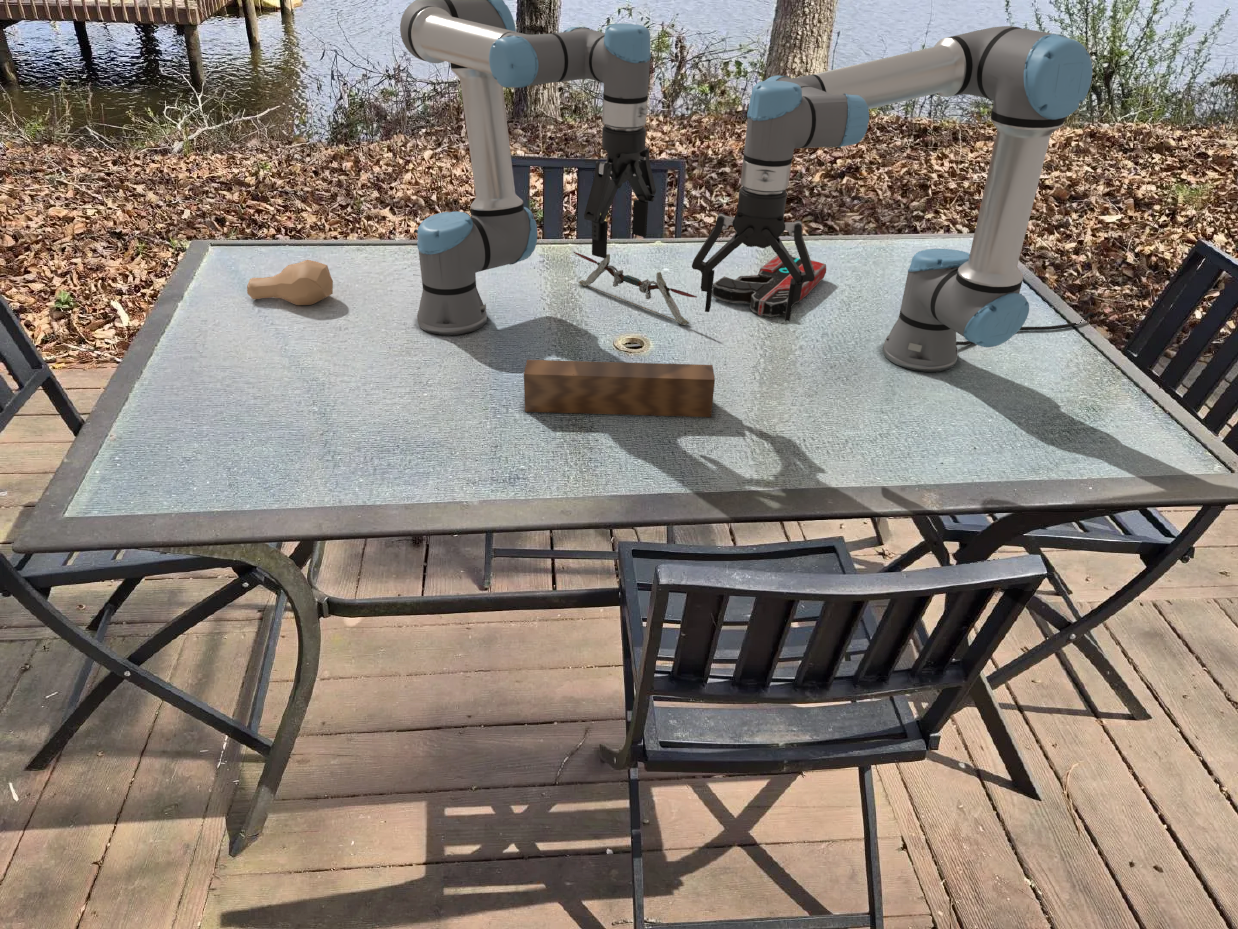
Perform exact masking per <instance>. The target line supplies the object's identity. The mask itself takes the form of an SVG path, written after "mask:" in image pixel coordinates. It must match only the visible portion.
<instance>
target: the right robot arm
mask: <svg viewBox="0 0 1238 929" xmlns="http://www.w3.org/2000/svg"><path fill="white" fill-rule="evenodd" d="M1092 79H1093V62H1092V58H1091V56H1090V53H1089V52H1088V51H1087V49H1086V46H1084V45H1083V43H1081V42H1079V41H1077V40H1076V39H1073V38H1069V37H1067V36H1065V35H1063V34H1061V33H1060V34H1059V33H1052V32H1046V31H1041V30H1040V31H1039V30H1034V29H1030V28H1029V29H1028V28H1022V27H1019V26H1013V25H1002V26H992V27H988V28H982V29H978V30H973V31H969V32H965V33H960V34H956V35H952V36H947V37H943V38H941V39H939V40H938V41H937V42H936V43H935V45H934V46H932V47H928V48H923V49H919V50H914V51H909V52H905V53H901V54H897V55H892V56H888V57H884V58H879V59H874V60H870V61H866V62H865V61H864V62H861V63H857V64H852V65H849V66H843V67H839V68H835V69H830V70H826V71H822V72H818V73H813V74H812V73H811V74H807V75H802V76H798V77H793V78H792V77H789V76H788V75H777V74H776V75H772V76H770V77H768V78H767V79H765V80H762V81H759V82H756V84H754V85H753V87H752V90H751V94H750V98H749V104H748V110H747V113H746V117H747V122H746V131H745V141H744V149H743V157H742V164H741V165H742V166H741V174H740V185H741V187H740V188H739V190H738V197H737V209H736V214H735V216H728V215H726V214H725V213H724V212H719V213H718V214H717V217H716V220H715V225H714V227H713V228H712V230H711V232H710V233H709V235H708V236H707V238H706V240H705V241H704V242H703V245H702V246H701V247H700V249H699V251H698V252H697V254H696V255H695V257H694V258H693V260H692V264H691V269H693V270H697V271H699V272H700V273H701V281H700V290H701V292H706V297H705V307H704V312H705V313H710V311H711V306H712V298H713V297H712V290H713V283H714V278H715V268H716V267H717V266H718V265H719V264H720V263H721V262H723V260H725V259H726V258H727V257H728V256H730V254H731V253H733V251H734V250H736V249H738V248H739V246H741V245H742V244H743V245H745V246H746V247H747V248H754V247H757V248H759V249H767V248H768V247H771V249H772V251H773V252H774V253H775V254H776V256H777V255H778V257H779V258H780V260H781V261H782V262H783V264H784V265H785V267H786V268H787V270H788V271H789V273H790V274H791V276H792V277H793V278H791V282H790V288H789V294H788V301H787V307H786V314H785V317H784V321H786V322H790V320H791V313H792V310H793V309H792V308H793V306H792V302H793V301H799V300H800V296H801V290H802V285H803V283H804V282H807V281H810V282H811V281H814V279H815V272H814V269H813V266H812V263H811V260H812V259H811V257H810V255H809V251H808V248H807V246H806V242H805V240H804V237H803V222H802V220H801V219H797V220H795V221H788V222H787V221H785V211H786V204H787V198H788V193H787V191H786V190H787V189H788V188H789V184H790V178H791V172H792V163H793V157H794V153H795V152H794V151H795V149H814V148H815V149H816V148H838V149H839V148H842V147H847V146H854V145H857V144H859V143H860V142H861V141H862V140H863V138H864V137H865V135H866V133H867V131H868V128H869V122H870V111H869V110H871V109H872V110H873V109H876V108H881V107H884V106H888V105H893V104H898V103H903V102H906V101H907V102H908V101H911V100H914V99H918V98H923V97H927V96H932V95H936V94H937V95H939V96H941V97H943V98H949V97H954V96H958V95H959V96H961V95H966V96H973V97H974V96H975V97H979V98H983V99H987V100H990V101H993V105H992V109H991V114H990V118H989V119H990V122H991V123H992V124H993V126H994V127H995V129H996V135H995V139H994V143H993V147H992V152H991V156H990V161H989V164H988V165H989V166H988V170H987V175H986V179H985V184H984V189H983V193H982V198H981V202H980V207H979V211H978V216H977V220H976V225H975V228H974V234H973V239H972V242H971V247H970V252H967V251H963V250H959V249H952V248H927V249H921V250H919V251H918V252H916V253H915V254H914V255H913V256H912V258H911V260H910V265H909V268H908V269H907V275H906V280H905V284H904V290H903V295H902V299H901V305H900V310H899V315H898V318H897V320H896V321H895V323H894V325H893V326H892V328H891V329H890V332H889V334H888V335H887V336H886V338H885V340H884V343H883V346H882V354H883V356H885V357H884V358H886V359H887V360H888V361H890V362H891V363H893V364H895V365H896V366H899V367H902V368H904V369H908V370H911V371H917V372H925V373H936V372H937V373H938V372H943V371H948V370H950V369H952V368H953V367H955V365H956V363H957V360H958V354H959V350H958V346H968V345H971V344H975V345H977V346H979V347H981V348H993V347H997V346H1000V345H1002V344H1004V343H1006V342H1008V341H1009V340H1010V339H1011V338H1012V337H1014V335H1016V334H1017V333H1018V332H1019V331H1047V330H1048V331H1050V330H1059V329H1065V328H1071V327H1075V326H1078V325H1080V324H1076V323H1074V322H1070V323H1066V324H1057V325H1046V326H1024V324H1025V323H1026V320H1027V318H1028V316H1029V313H1030V303H1029V301H1028V300H1027V298H1026V296H1025V295H1023V294H1022V293H1021V288H1022V285H1023V281H1024V275H1023V272H1022V271H1021V269H1019V267H1018V264H1019V261H1020V257H1021V253H1022V249H1023V246H1024V242H1025V237H1026V233H1027V230H1028V226H1029V223H1030V217H1031V214H1032V210H1033V206H1034V202H1035V198H1036V195H1037V189H1038V187H1039V182H1040V178H1041V174H1042V171H1043V167H1044V163H1045V158H1046V155H1047V152H1048V147H1049V144H1050V140H1051V136H1052V134H1053V133H1055V132H1056V131H1058V130H1059V129H1061V127H1063V126H1064V124H1065V120H1066V117H1068V116H1071V115H1072V114H1073V113H1074V112H1076V111H1077V110H1078V109H1079V107H1080V103H1083V102H1084V100H1085V99H1086V98H1087V95H1088V93H1089V92H1090V89H1091V84H1092ZM729 226H732V228H733V229H734V231H735V234H734V235H732V237H731V238H730V239H729V240H728V241H727V242H726V243H725V244H724V245H722V247H721V248H719V249H718V250H717V251H716V252H715V253H714V254H713V255H712V256H711V257H710V258H709V259H708V260H706V261H704V260H705V259H706V257H707V256H708V254H709V252H710V251H711V250H712V249H713V246H714V245H715V244H716V242H717V240H718V239H719V238H720V235H721V233H722V231H726V230H727V229H728V228H729ZM785 231H787V232H788V235H789V236H790V237H792V238H793V240H794V244H795V247H796V250H797V254H798V256H799V259H801V262H802V265H803V268H804V271H805V272H801V270H800V269H799V267H798V266H797V264H796V263H795V261H794V260H793V258H792V257H793V256H792V257H791V255H792V254H791V253H790V252H789V251H788V250H787V248H786V246H785V245H784V243H783V241H782V239H781V237H780V236H781V235H782V234H783V233H784V232H785ZM800 301H801V300H800ZM800 301H799V302H800ZM1089 318H1095V315H1094V313H1093V312H1092V311H1089V312H1088V313H1086V315H1084V317H1083V318H1082V319H1084V320H1085V322H1086V321H1087V320H1088V319H1089ZM1082 319H1081V321H1082ZM1080 323H1081V322H1080ZM1081 324H1082V323H1081ZM957 334H958V335H960V336H962V337H963V338H964V340H966V341H957Z"/></svg>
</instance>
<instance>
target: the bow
mask: <svg viewBox="0 0 1238 929" xmlns="http://www.w3.org/2000/svg"><path fill="white" fill-rule="evenodd" d="M573 254H574V255H577V256H578V257H580V258H582V259H584V260H586V261H588V262H590V263H593V264H596V265H597V268H595V270H593V271H592V272H591V273H590V274H589V275H588V276H587V278H586V280H583V279H582V280H579V281H578V284H579V285H580V286H583V287H589V288H591V289H593V290H596V291H599V292H600V293H604V294H606V295H609V296H612V297H614V298H617V299H619V300H621V301H625V302H626V303H629V304H632V305H634V306H637V307H640V308H642V309H645V310H647V311H650V312H652V313H655V314H657V315H659V316H662V317H665V318H667V319H670V320H672V321H675V322H677V323H678V324H680V325H682V326H687V325H688V324H690V321H689V320H687V318H685V317H683V316H682V315H681V312H680V309H679V307H678V305H677V303H676V302H675V300H674V298H673V297H672V295H671V293H670V292H672V293H674V294H678V295H680V296H684V297H688V298H698V296H697V295H693V294H692V293H689V292H685V291H683V290H681V289H677V288H672V287H671V288H670V287H668V285H667V282H666V281H665V279H664V278H663V274H662V271H657V272H656V278H655V279H656V281H655V280H651V281H650V280H649V278H646V279H645V280H641V279H640V278H637V277H635V276H632V275H629V274H626V275H625V274H624V270H623V269H620V270H618V269H617V268H616V267H615V266H614V265H612V264H611V265H610V262H611V254H610V253H607V257H606V258H602V260H601V261H600V262H598V261H596V260H595V259H593V258H591V257H589V256H588V255H587V256H586V255H584V254H582V253H579V252H576V251H573ZM606 271H607V272H608V273H609V274H610V275H611V276H612V277H613V282H612V287H613V288H616V287H619V285H621V284H624V283H628V284H630V285H633V286H636V287H638V290H639V292H640V293H642V294H645V295H644V296H645V298H644V299H645V300H651V299H652V293H651V291H653V290H659V292H660V293H661V295H662V297H663V298H664V301H665V303H666V305H667V307H668V309H669V311H670V313H671V315H672V316H673V318H672V317H670V316H667V315H664V314H662V313H660V312H657V311H654V310H652V309H649V308H646V307H644V306H642V305H638V304H636V303H634V302H631V301H628V300H626V299H623V298H621V297H618V296H616V295H613V294H611V293H609V292H606V291H604V290H601V289H598V288H596V287H593V286H590V285H591V284H594V283H595V281H596V280H597V279H598V278H599V277H600V276H601V275H602V274H603V273H604V272H606Z"/></svg>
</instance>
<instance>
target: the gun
mask: <svg viewBox="0 0 1238 929" xmlns="http://www.w3.org/2000/svg"><path fill="white" fill-rule="evenodd" d="M790 255H791V257H792V258H793V260H794V261H795V263H796V264H797V266H798V267H799V269H800V270H801V272H805V271H804V268H803V265H802V262H801V259H800V257H795V256H793V255H792V254H790ZM810 260H811V263H812V266H813V269H814V272H815V279H814V281H811V282H810V281H807V282H804V283H803V285H802V290H801V296H800V300H799V301H793V302H792V307H793V306H794V305H795V304H798V303H799V302H801V301H802V300H803V299H804V298H805V297H807V296H808V295H809V294H810V293H811V292H812V291H813V290H814V289H815V287H817V285H818V284H820V283H821V282H822V280H823V279H824V278H825V276H826V273H827V264H826V263H823V262H820V261H816V260H812V259H810ZM791 278H793V277H792V276H791V274H790V273H789V271H788V270H787V268H786V267H785V265H784V264H783V262H782V261H781V260H780V258H779V257H778V255H777V254H776V255H775V256H774V257H773V258H771V259H770V260H768V261H767V262H766V263H765V264H763V265H762V266H761V267H760V269H759V271H758V273H757V274H756V275H753V274H752V275H751V274H750V275H740V276H738V277H737V278H735V279H734V278H731V277H727V276H722V277H720V279H717V281H715V282H713V289H712V298H714V299H716V300H719V301H723V302H727V303H730V304H750V305H749V308H750V310H751V312H753V313H755V314H757V315H758V316H760V317H761V316H765V317H770V318H771V317H777V316H780V317H784V318H785V314H786V307H787V301H788V294H789V288H790V282H791Z"/></svg>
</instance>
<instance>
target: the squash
mask: <svg viewBox="0 0 1238 929" xmlns="http://www.w3.org/2000/svg"><path fill="white" fill-rule="evenodd" d="M333 289H334V280H333V277H332V276H331V272H330V268H329V266H328V264H325V263H322V262H319V261H316V260H311V259H305V260H302V261H300V262H297V263H291V264H288V265H286V267H284V268H283V269H282V270H281V272H279V273H277V274H275V275H274V276H266V277H252V278H249V281H248V283H247V285H246V292H247V295H248V296H249V297H250V298H251V299H252V300H260V299H271V298H276V299H281V300H284V301H286V302H288V303H291V304H293V305H295V306H312V305H314V304H316V303H318V302H320V301H322V300H325V299H327V298H328V297H329V296H331V295H333V294H334V292H333V291H334V290H333Z"/></svg>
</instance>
